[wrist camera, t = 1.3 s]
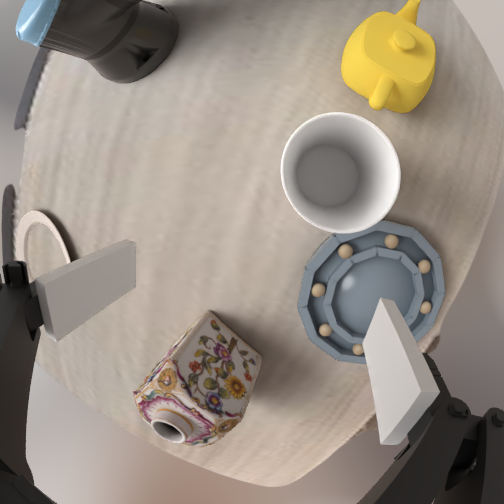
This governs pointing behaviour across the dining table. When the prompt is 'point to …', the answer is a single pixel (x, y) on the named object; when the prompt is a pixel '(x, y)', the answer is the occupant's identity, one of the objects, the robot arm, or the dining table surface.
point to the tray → (369, 286)
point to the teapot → (390, 60)
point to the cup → (340, 172)
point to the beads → (346, 252)
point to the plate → (23, 232)
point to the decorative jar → (199, 385)
